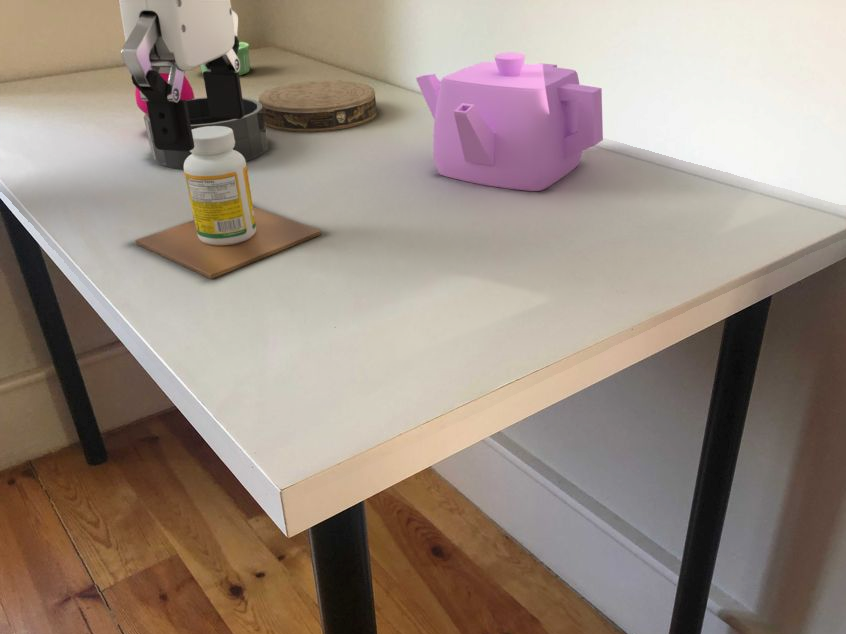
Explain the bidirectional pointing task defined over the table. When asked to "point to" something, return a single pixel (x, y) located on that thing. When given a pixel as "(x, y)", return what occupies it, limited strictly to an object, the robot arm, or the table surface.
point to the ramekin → (243, 58)
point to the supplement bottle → (219, 188)
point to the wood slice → (318, 106)
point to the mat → (219, 260)
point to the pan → (245, 130)
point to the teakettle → (511, 122)
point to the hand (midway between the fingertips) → (203, 132)
